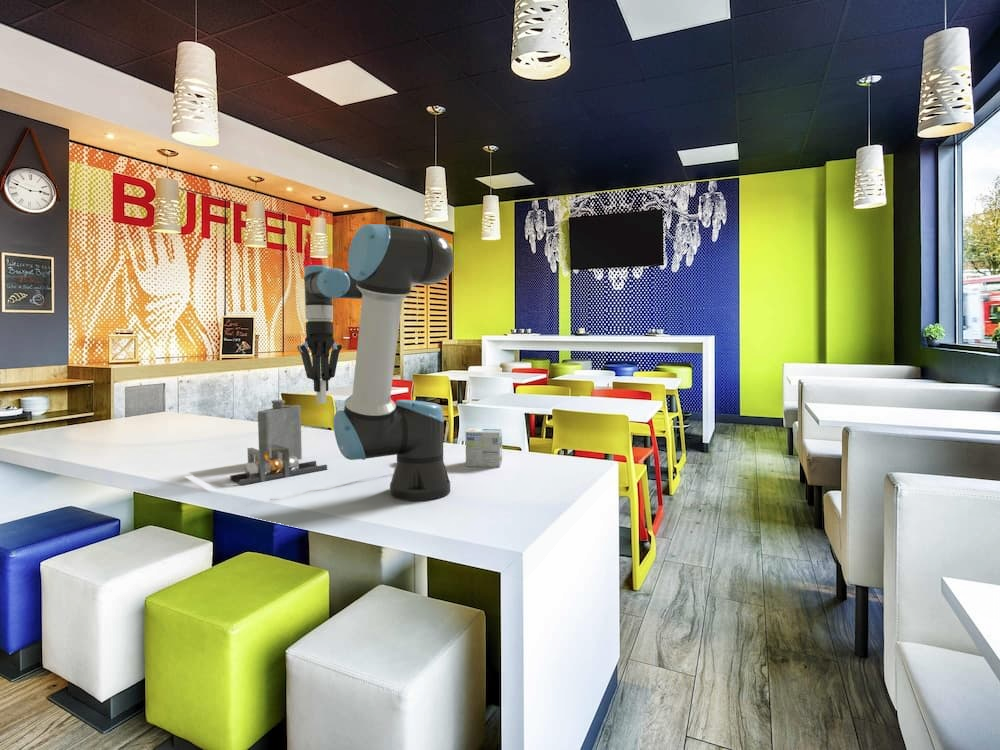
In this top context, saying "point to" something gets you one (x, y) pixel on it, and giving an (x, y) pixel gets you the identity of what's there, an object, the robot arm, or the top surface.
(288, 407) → the hip flask
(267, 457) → the aperture plate
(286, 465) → the grey metal bracket
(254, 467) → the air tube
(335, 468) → the top surface
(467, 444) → the light bulb box
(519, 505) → the top surface
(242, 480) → the black base plate
